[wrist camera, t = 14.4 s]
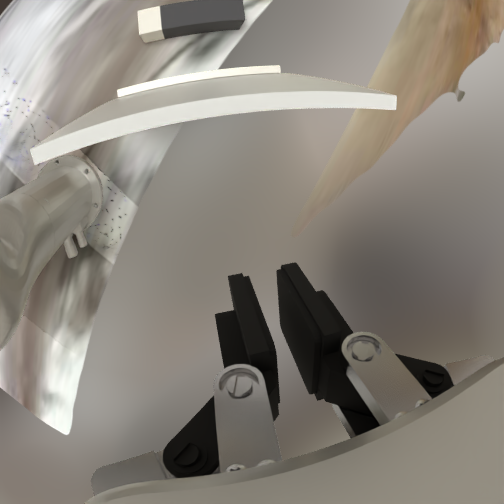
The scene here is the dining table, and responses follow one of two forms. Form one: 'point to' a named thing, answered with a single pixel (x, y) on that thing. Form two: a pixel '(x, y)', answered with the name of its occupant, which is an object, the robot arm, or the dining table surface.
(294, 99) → the plate
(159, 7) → the dark gray block
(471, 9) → the dining table surface
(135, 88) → the strip
